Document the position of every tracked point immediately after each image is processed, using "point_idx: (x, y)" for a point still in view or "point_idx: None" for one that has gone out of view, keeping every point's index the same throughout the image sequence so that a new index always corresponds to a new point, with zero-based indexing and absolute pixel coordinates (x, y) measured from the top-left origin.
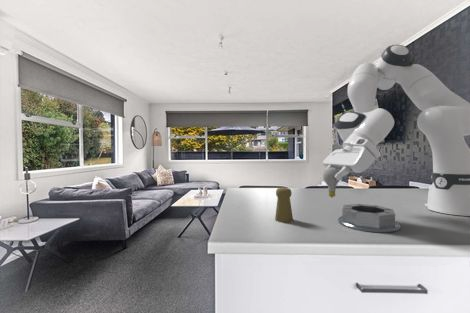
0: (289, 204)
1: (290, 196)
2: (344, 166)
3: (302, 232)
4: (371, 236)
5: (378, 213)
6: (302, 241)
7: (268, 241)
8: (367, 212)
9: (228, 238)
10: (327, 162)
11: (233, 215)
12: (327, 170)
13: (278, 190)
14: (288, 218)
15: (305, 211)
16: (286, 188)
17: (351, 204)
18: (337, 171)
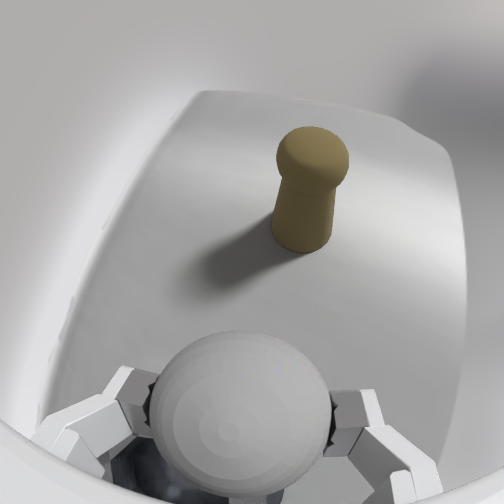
0: (285, 201)
1: (290, 185)
2: (49, 452)
3: (174, 229)
4: (90, 383)
5: (104, 467)
6: (129, 206)
7: (160, 151)
8: (123, 449)
9: (204, 104)
10: (485, 489)
11: (364, 127)
12: (210, 352)
13: (300, 128)
14: (273, 222)
15: (400, 349)
16: (299, 147)
17: (265, 499)
18: (154, 439)
